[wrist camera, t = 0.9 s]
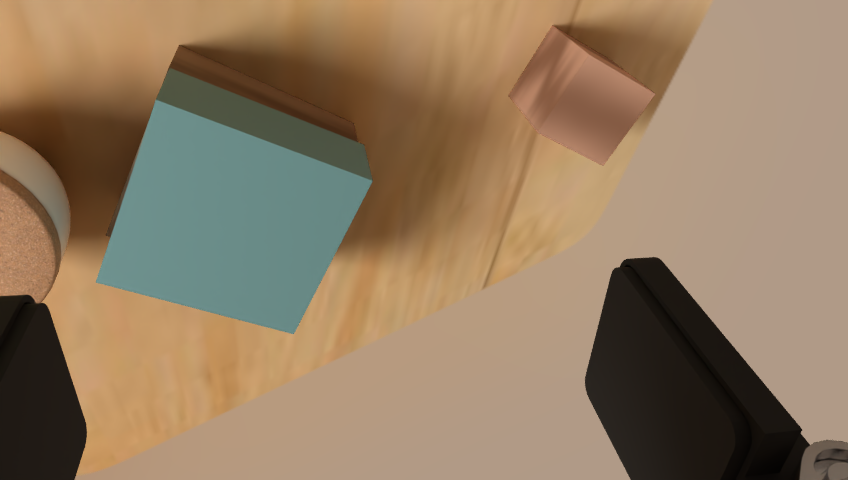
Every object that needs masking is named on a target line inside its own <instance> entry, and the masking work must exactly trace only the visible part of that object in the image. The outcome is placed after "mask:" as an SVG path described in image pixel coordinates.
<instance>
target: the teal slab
mask: <svg viewBox="0 0 848 480" xmlns="http://www.w3.org/2000/svg"><path fill="white" fill-rule="evenodd" d="M372 181H373V180H372V176H371V171H370V167H369V163H368V159H367V155H366V151H365V147H364V145H363V144H361V143H358V142H356V141H353V140H351V139H348V138H346V137H343V136H341V135H338V134H336V133H333V132H331V131H328V130H326V129H323V128H320V127H318V126H315V125H313V124H310V123H308V122H305V121H303V120H300V119H298V118H295V117H293V116H290V115H288V114H285V113H283V112H280V111H278V110H275V109H272V108H270V107H267V106H265V105H262V104H260V103H257V102H255V101H252V100H250V99H247V98H245V97H242V96H240V95H237V94H235V93H232V92H230V91H227V90H224V89H222V88H219V87H217V86H214V85H212V84H209V83H207V82H204V81H202V80H199V79H197V78H194V77H192V76H189V75H187V74H184V73H182V72H179V71H176V70H174V69H171V68H170V69H169V71H168V73H167V75H166V78H165V80H164V82H163V85H162V87H161V89H160V91H159V94H158V96H157V98H156V101H155V104H154V107H153V110H152V113H151V116H150V119H149V122H148V125H147V128H146V131H145V134H144V137H143V140H142V143H141V146H140V149H139V153H138V156H137V159H136V162H135V165H134V168H133V171H132V174H131V177H130V180H129V183H128V186H127V189H126V192H125V195H124V198H123V201H122V204H121V207H120V210H119V213H118V216H117V219H116V222H115V226H114V229H113V232H112V235H111V238H110V241H109V244H108V247H107V250H106V253H105V256H104V259H103V262H102V265H101V268H100V271H99V274H98V277H97V280H96V283H100V284H104V285H108V286H112V287H115V288H119V289H123V290H127V291H131V292H135V293H138V294H142V295H146V296H150V297H154V298H158V299H161V300H165V301H169V302H173V303H177V304H180V305H184V306H188V307H192V308H196V309H200V310H203V311H207V312H211V313H215V314H219V315H222V316H226V317H230V318H234V319H238V320H242V321H245V322H249V323H253V324H257V325H261V326H264V327H268V328H272V329H276V330H280V331H284V332H287V333H291V334H294V333H295V331H296V329H297V327H298V325H299V323H300V321H301V319H302V317H303V315H304V313H305V311H306V309H307V307H308V306H309V304H310V302H311V300H312V298H313V296H314V294H315V292H316V290H317V288H318V286H319V284H320V282H321V280H322V278H323V276H324V275H325V273H326V271H327V269H328V267H329V265H330V263H331V261H332V259H333V257H334V255H335V253H336V251H337V249H338V247H339V245H340V243H341V242H342V240H343V238H344V236H345V234H346V232H347V230H348V228H349V226H350V224H351V222H352V220H353V218H354V216H355V214H356V212H357V211H358V209H359V207H360V205H361V203H362V201H363V199H364V197H365V195H366V193H367V191H368V189H369V187H370V185H371V183H372Z"/></svg>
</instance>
